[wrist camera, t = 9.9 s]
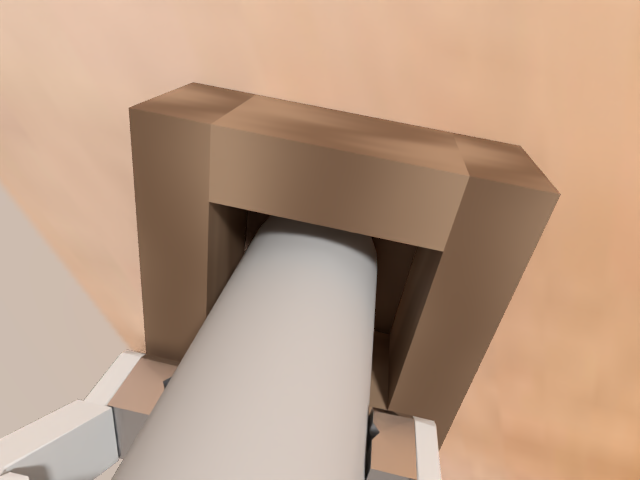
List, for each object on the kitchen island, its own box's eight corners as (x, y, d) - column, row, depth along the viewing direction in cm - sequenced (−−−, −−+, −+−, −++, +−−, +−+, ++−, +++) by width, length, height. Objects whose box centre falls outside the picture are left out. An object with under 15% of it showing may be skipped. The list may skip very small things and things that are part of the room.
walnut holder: (520, 146, 14) (560, 194, 10) (426, 381, 19) (432, 464, 16) (192, 82, 15) (128, 107, 11) (192, 327, 20) (149, 395, 17)
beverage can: (353, 316, 18) (301, 732, 8) (246, 279, 18) (48, 652, 8) (397, 221, 16) (406, 640, 5) (273, 178, 16) (41, 521, 5)
